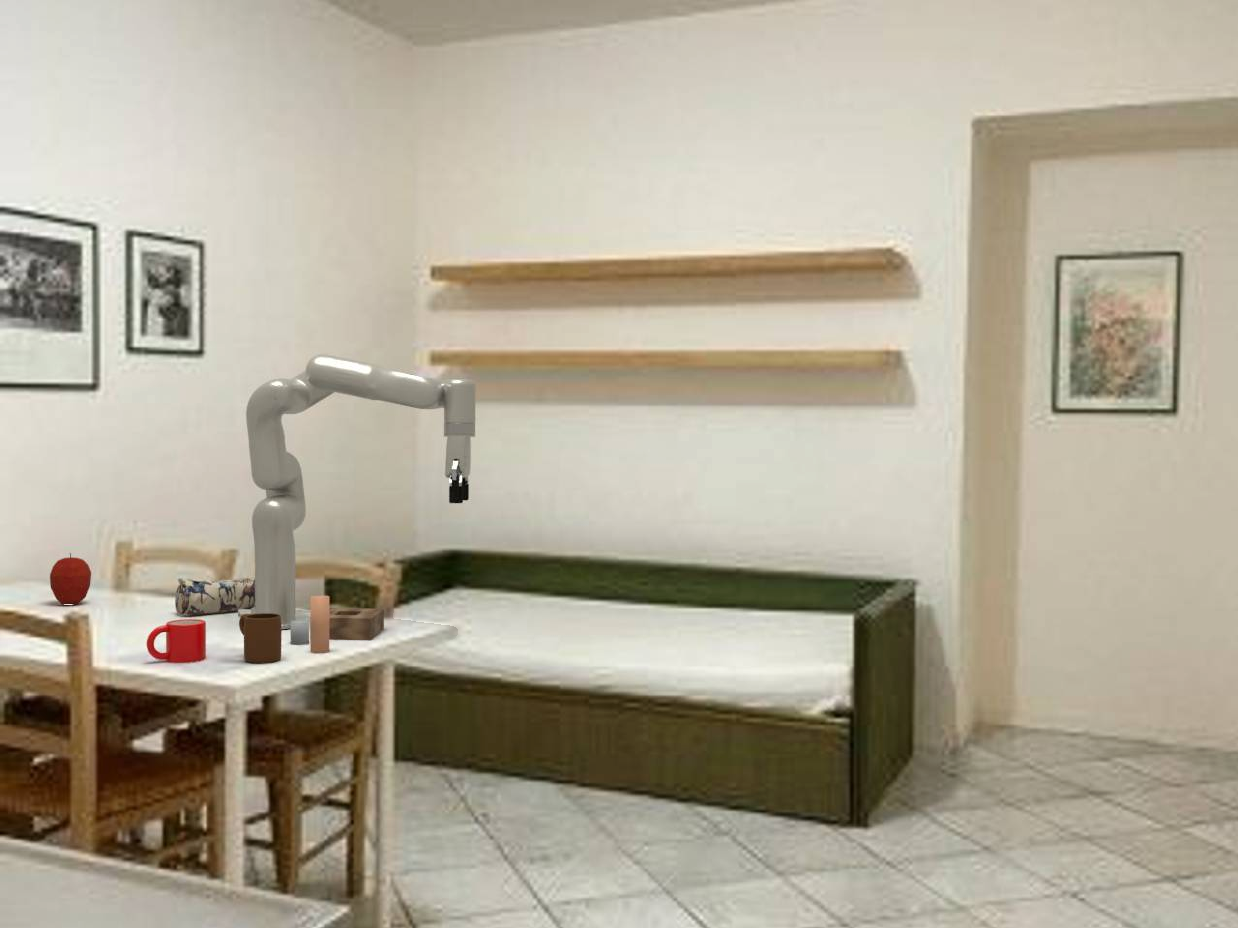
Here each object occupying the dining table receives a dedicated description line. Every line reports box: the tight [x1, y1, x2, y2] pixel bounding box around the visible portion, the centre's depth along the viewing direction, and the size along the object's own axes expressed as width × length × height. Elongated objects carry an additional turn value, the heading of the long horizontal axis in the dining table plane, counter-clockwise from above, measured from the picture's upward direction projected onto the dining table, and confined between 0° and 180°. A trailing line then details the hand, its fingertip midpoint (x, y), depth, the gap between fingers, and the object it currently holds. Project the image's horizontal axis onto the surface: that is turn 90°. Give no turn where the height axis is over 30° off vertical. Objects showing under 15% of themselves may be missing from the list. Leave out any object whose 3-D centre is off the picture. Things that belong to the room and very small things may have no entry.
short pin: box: [290, 619, 310, 646], centre depth 278 cm, size 4×4×5 cm
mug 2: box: [238, 613, 282, 664], centre depth 260 cm, size 12×8×9 cm, turn 49°
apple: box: [49, 552, 92, 605], centre depth 328 cm, size 10×10×14 cm
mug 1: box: [146, 618, 207, 664], centre depth 257 cm, size 8×12×8 cm, turn 130°
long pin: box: [309, 594, 330, 654], centre depth 269 cm, size 4×4×12 cm
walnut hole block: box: [309, 607, 385, 641], centre depth 290 cm, size 14×14×5 cm
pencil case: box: [174, 575, 255, 618], centre depth 319 cm, size 22×8×10 cm, turn 130°
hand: (459, 501), depth 297 cm, fingers open, 9 cm apart
